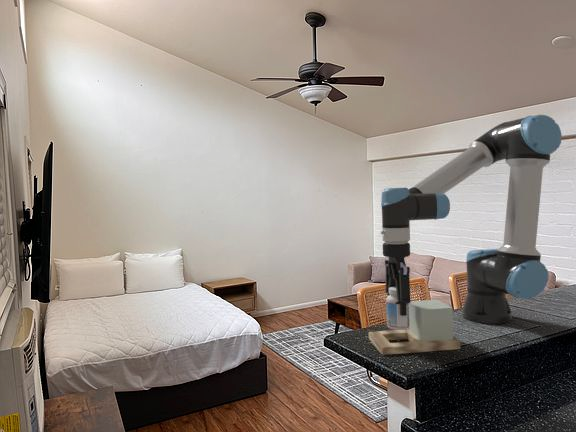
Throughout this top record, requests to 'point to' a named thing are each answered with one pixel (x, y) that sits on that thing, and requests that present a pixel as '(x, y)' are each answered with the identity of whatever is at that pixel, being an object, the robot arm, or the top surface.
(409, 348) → the board
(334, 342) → the top surface
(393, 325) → the pill bottle
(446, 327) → the block
